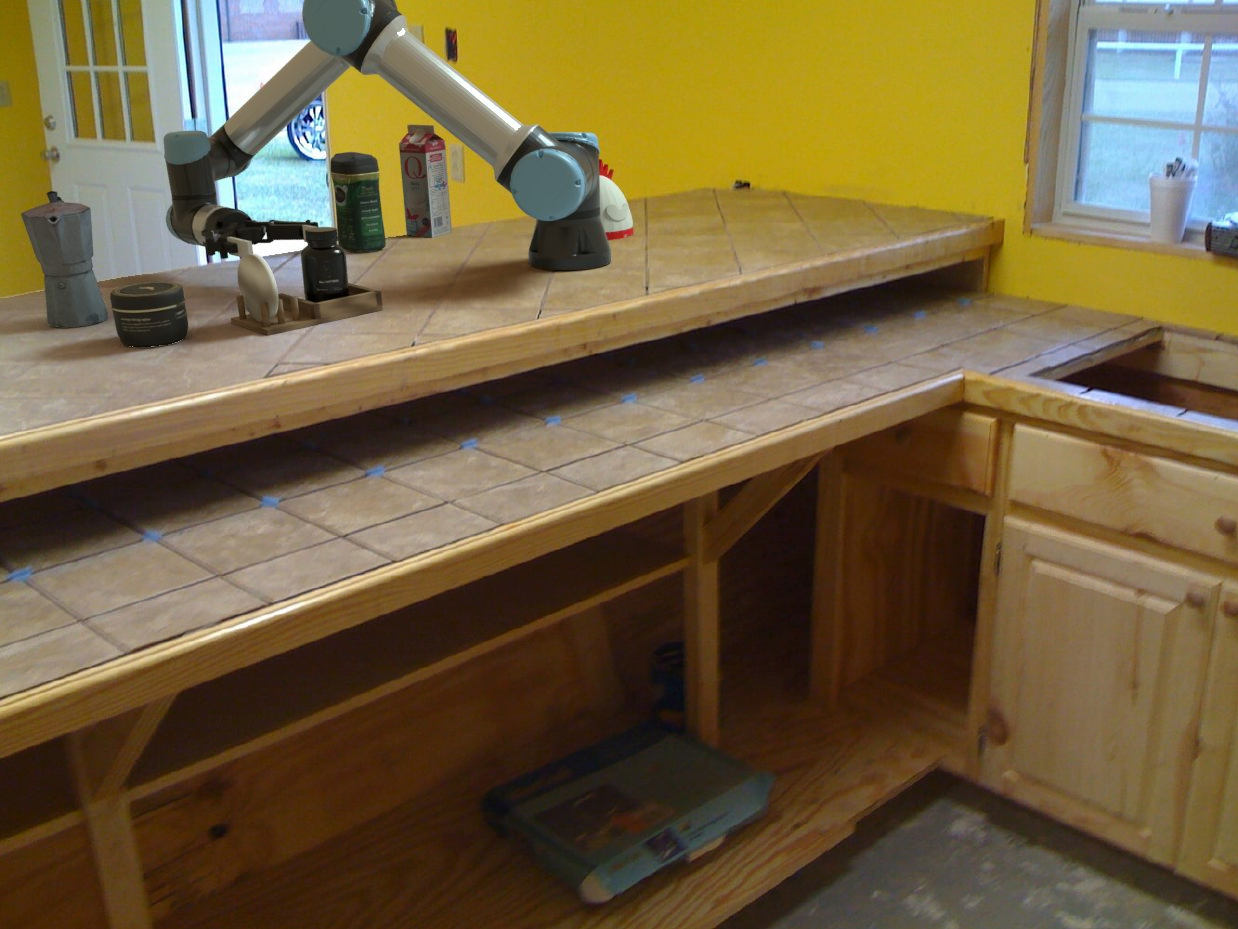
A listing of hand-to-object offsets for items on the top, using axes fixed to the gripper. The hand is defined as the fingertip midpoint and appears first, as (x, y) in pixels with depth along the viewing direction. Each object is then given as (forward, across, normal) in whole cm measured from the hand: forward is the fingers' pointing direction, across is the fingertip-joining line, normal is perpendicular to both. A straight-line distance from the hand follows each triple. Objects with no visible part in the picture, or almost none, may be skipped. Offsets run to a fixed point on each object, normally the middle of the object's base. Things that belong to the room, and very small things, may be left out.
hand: (289, 243), depth 190 cm
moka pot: (-16, +29, -10) cm, 35 cm away
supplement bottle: (+10, 0, -9) cm, 13 cm away
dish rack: (+10, +4, -9) cm, 14 cm away
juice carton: (-33, -51, -10) cm, 61 cm away
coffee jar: (-30, -32, -10) cm, 45 cm away
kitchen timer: (-4, -73, -10) cm, 74 cm away
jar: (+5, +26, -10) cm, 28 cm away
